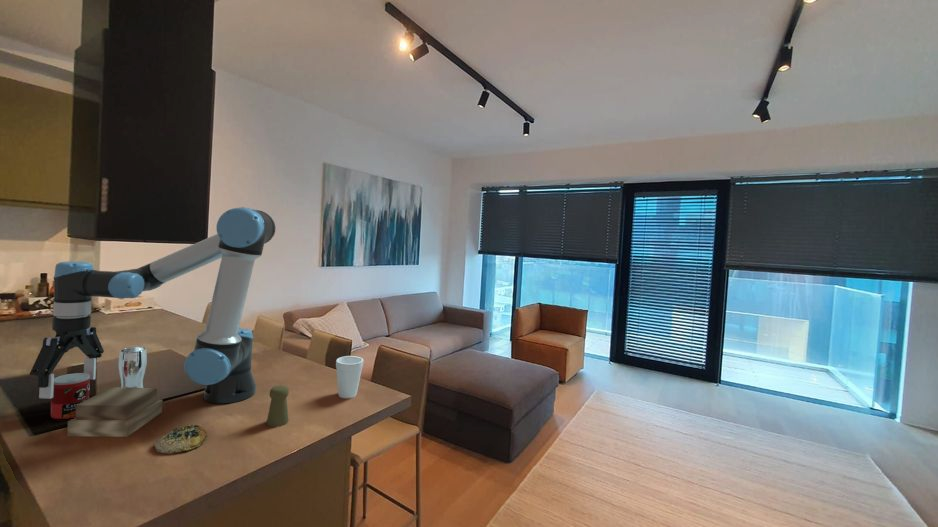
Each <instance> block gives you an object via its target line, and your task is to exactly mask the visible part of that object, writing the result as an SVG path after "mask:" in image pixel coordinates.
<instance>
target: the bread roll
mask: <svg viewBox="0 0 938 527" xmlns="http://www.w3.org/2000/svg"><path fill="white" fill-rule="evenodd" d="M207 433H208V432H207V429H206V428H204V427H201V426H200V425H199V424H195V425H194V424H193V425H192V424H188V425H187V426H186V425H185V426H181V427H176V428H174V429H173V430H171V431H170V432H168V433H166V434H163V435H162V436H161V437H159V438H158V439H157V440H156V441H155V443H154V444H153V446H154V447H155V448H154V449H155V453H161V454H168V455H170V454H171V455H172V454H178V453H182V452H188V451H193V450H195V449H197V448H199V447H200V446H202V444H204V443H205V442H206V440H207V439H208V434H207Z"/></svg>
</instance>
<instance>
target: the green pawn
mask: <svg viewBox="0 0 938 527" xmlns="http://www.w3.org/2000/svg"><path fill="white" fill-rule="evenodd" d="M289 392H290V391H289V387H288V386H287V385H284V384H283V385H282V384H280V385H279V384H278V385H274V387H272V388H271V389H270V390H269V398H271V400H270V405H269V408H268V409H269V410H268V414H267V420H266V426H268V427H270V426H272V427H271V428H278V427H277V426H279V427H283V426H285V425H286V424H288V423H289V420H290V419H289V412H288V401H287V400H288V399H287V398H288V395H289ZM282 425H283V426H282Z"/></svg>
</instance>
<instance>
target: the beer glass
mask: <svg viewBox="0 0 938 527" xmlns="http://www.w3.org/2000/svg"><path fill="white" fill-rule="evenodd" d="M147 362H148V356H147V347H146V346H131V347H126V348H125V347H124V348H122V349H120V350H119V357H118V372H119V376H120V377H119V378H120V383H121V386H120V387H127V388H144V377H145V374H146V369H147Z"/></svg>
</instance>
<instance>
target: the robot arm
mask: <svg viewBox="0 0 938 527" xmlns="http://www.w3.org/2000/svg"><path fill="white" fill-rule="evenodd" d="M216 222H217V223H216V234H214V235H212V236H209V237H207V238H205V239H202V240H201V241H198V242H196V243H193V244H191V245H189V246H187V247H184V248H182V249H179V250H177V251H175V252H173V253H170V254H167V255H166V256H163V257H161V258H159V259H157V260H154V261H151V262H150V263H147V264H145V265H143V266H140V267H138V268H132V269H124V270H119V271H118V270H116V271H113V270H111V271H108V270H107V271H106V270H96V269H94V265H93V263H92V262H88V261H61V262H60V261H59V262H57V263H56V265H55V266H54V276H53V277H52V278H53V308H52V310H53V311H52V315H53V318H52V325H51V326H52V327H51V328H52V331H54V332H55V336H54V337H44V338H43V340H42V346H41V348H40V351H39V352H38V355H37V357H36V359H35V362H34V363H33V366H32V368H31V370H30V372H29V375H30V376H35V377H36V376H37V377H38V380H37V381H38V382H37V383H38V384H37V387H38V388H39V389H38V390H39V392H38V393H39V394H38V398H39V399H48V400H49V399H50V400H51V398H53V390H54V378H55V374H54V373H52V372H53V371H54V370H55V368H56V367H57V365H58V364H59V362H60V361H61V359H62V357H63V356H64V355H65V354H66V353H67V352H69V351H70V350H71V349H74V348H78V349H79V350H80V351H81V352H82V353H83V354H84V355H85V356H86V357H85V358H83V373H86V374H89V376H90V381H92V380H96V377H97V376H96V372H97V366H98V364H97V362H98V358H102V356H103V355H102V354H104V352H105V350H104V348H103V346H102V343H101V340H100V339H99V336H98V334H97V327H95V326H91V322H92V321H91V317H92V316H91V315H90V314H91V313H92V298H93V297H95V298H96V297H97V298H112V299H113V298H114V299H122V300H124V299H136V298H138V297H139V296H140V295H141V294H142V293H143V292H146V291H147V292H148V291H153V290H155V289H159V288H161V286H162V285H164V284H166V283H167V282H170V281H172V280H174V279H176V278H180V277H181V276H183V275H185V274H188V273H190V272H192V271H195V270H197V269H199V268H201V267H205V266H206V265H209V264H210V263H214V262H215V261H217V260H220V259H221V260H220V264H219V268H218V272H217V277H216V281H215V286H214V290H213V294H212V297H211V301H210V302H211V303H210V308H209V310H208V311H209V312H208V316H207V319H206V323H205V324H206V325H205V328H204V331H202V332H200V333H198V334H197V337H196V341H195V345H194V349H193V351H191V352H190V353H189V354H188V355H187V357H186V359H185V361H184V365H183V366H184V367H183V369H184V371H185V374H186V375H187V376H188V377H189V379H190V380H191V381H193V382H194V383H197V384H198V385H199V384H200V385H204V386H206V387H205V389H204V391H203V400H205V401H206V402H208V403H212V404H230V403H231V404H232V403H235V402H241V401H245V400H247V399H249V398H251V397H253V396H254V395H255V394H256V390H257V388H256V387H257V386H256V381H255V379H254V376H253V375H254V374H253V372H252V360H253V359H252V358H253V357H252V356H253V342H254V341H253V340H254V336H253V335H254V334H253V331H252V330H251V329H249V328H241V327H240V324H241V320H242V315H243V312H244V311H243V310H244V307H245V303H246V298H247V294H248V289H249V286H250V281H251V278H252V277H251V276H252V273H253V269H254V264H255V260H256V259H258V258H261V257H262V254H263V251H264V246H265V244H267V243H268V242H270V241H271V240H272V239H273V238H274V236H275V234H276V224H275V221H274V219H273V218H272V216H271V215H269V214H268V213H266V212H264V211H262V210H258V209H254V208H249V207H244V206H241V207H235V208H231V209H228V210H226V211H225V212H223V213H222V214H221V215H220V216H219V218H218V219H217V221H216Z"/></svg>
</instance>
